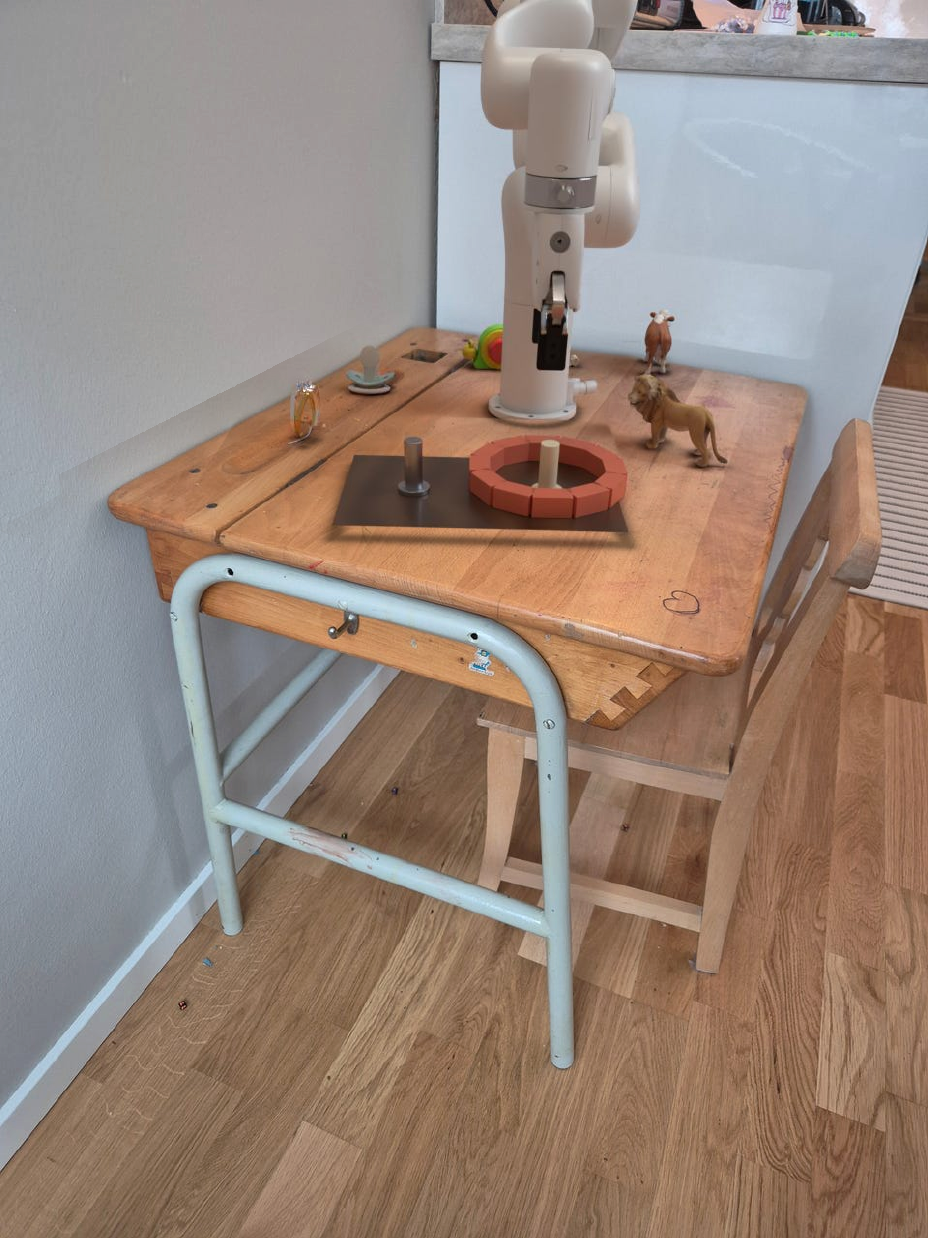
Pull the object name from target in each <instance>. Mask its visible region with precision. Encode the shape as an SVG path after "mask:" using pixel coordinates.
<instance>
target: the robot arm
mask: <svg viewBox="0 0 928 1238" xmlns="http://www.w3.org/2000/svg"><path fill="white" fill-rule="evenodd" d="M637 7H638V0H503V1H502V2H501V4H500V5H499V8H498V11H497V12H496V13H497V14H496V19H495V20H494V22H493V23H492V24H491V26H490V28H489V30H488V32H487V34H486V37H485V41H484V44H483V49H482V55H481V67H480V102H481V108H482V112H483V115H484V118H485V119H486V120H487V122H488V123H489V124H490V125H491V126H493V127H495V128H497V129H499V130H505V131H507V130H508V131H509V130H510V131H512V159H513V165H514V169H515V170H513V171H512V172H511V173H509V175H507V177H506V179H505V180H504V183H503V185H502V190H501V199H500V203H501V204H500V205H501V208H500V209H501V218H502V219H501V220H502V230H503V231H502V232H503V242H504V243H503V244H504V292H503V315H502V316H503V317H502V324H503V336H502V359H501V369H500V383H499V389H500V390H499V392H498V393H496V394H494V395H493V396H491V397H490V399H489V401H488V411H489V412H490V413H491V414H492V415H493V416H494V417H496V418H498V419H502V420H503V419H505V420H506V419H509V420H543V421H544V420H546V421H547V420H548V421H569V420H571V419H572V418H573V417H575V415H576V414H577V403H576V401H575V400H574V399H577V398H578V397H579V396H583V395H584V396H587V395H595V394H596V393H597V392H598V383H597V381H596V380H595V379H592V380H591V379H590V380H584V381H581V379H580V378H579V377H575V378H573V377H572V378H570V377H569V373H570V372H569V371H570V366H569V361H570V356H571V347H572V336H573V324H574V314H575V313H577V312H579V311H580V309H581V300H582V299H581V298H582V284H583V283H582V281H583V265H584V250H585V249H616V248H621V247H623V246H625V245H627V244H628V243H629V242H630V241H631V240H632V239H633V237H634V236H635V234H636V232H637V230H638V225H639V221H640V214H641V193H640V190H641V189H640V181H639V180H640V178H639V169H638V157H637V147H636V138H635V131H634V127H633V123H632V122H631V120H630V119H629V116H627V115H626V114H625V113H623V112H622V111H619V110H615V109H613V107H614V101H615V97H616V89H617V87H616V80H617V78H616V77H617V76H616V71H615V69H614V68H612V64H611V62H613V61H614V60H615V59H616V58H617V57H618V55H619V54H620V52H621V50H622V48H623V45H624V42H625V39H626V37H627V35H628V32H629V30H630V28H631V25H632V22H633V20H634V17H635V14H636V11H637Z"/></svg>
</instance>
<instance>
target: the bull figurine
mask: <svg viewBox="0 0 928 1238" xmlns="http://www.w3.org/2000/svg"><path fill="white" fill-rule="evenodd" d="M649 316H650V318H652V320H651V321H650V323H649V324H648V326H647V328H646V331H645V334H644V335H645V336H644V345H645V355H644V358H643V360H642V362H643V363H647V367H646V370H645V372H644V374H649V375H651V368H652V366H653V364H654V363H653V362H654V360H655V362H656V365H658V366H660V368H659V371H658V372H659V373H661V374H665V373H666V367H665V366H666V363H667V356H668V353H669V352H670V350H671V347H672V344H673V343H672V342H673V341H672V335H671V332H670V327H671V326H672V325H671V324H672V322H674V321H675V317H674V316H672V315H671V314H670V313H669V311H668V310H667V309H661V310H660V311H659V312H658V313H657V312H655V311H651V312H650V313H649Z"/></svg>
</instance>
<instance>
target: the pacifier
mask: <svg viewBox="0 0 928 1238" xmlns="http://www.w3.org/2000/svg"><path fill="white" fill-rule="evenodd" d="M380 359H381V355H380V352H379V350H378V348H376V346H374V345H366V346H364V347H363V348H362V349H361V350H360V353H359V360H360V363H361V365H362V367H363V368H362V370H363V373H361V372H358V371H355V370H351V369H348V370H346V371H345V372H346V377H347V379H348V380H350V381H351V382H353V383H351V384H348V386H347V389H348V390H349V391H351V392H353V393H358V394H364V395H365V394H366V395H375V394H383V393H387V392H389V391H390V390H391V387H390V386H389V385H387V384H386V382H389V381H390V380H391V379H392V378H393V377H394V376H395V374H396V373H395V371H391V372H388V373H384V374H381V375H379V374H378V373H379V371H378V369H379V368H378V365H379V364H380V361H381V360H380Z"/></svg>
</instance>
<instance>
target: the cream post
mask: <svg viewBox="0 0 928 1238" xmlns="http://www.w3.org/2000/svg"><path fill="white" fill-rule="evenodd" d="M559 445H560V444H559V442H557V441H554V440H545V441H542V443H541V453H540V467H539V481H538V483H536V484H534V485H532V487H533V488H559V489H562V487H561V486H559V485H557V484H556V480H557V468H558V456H559Z"/></svg>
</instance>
